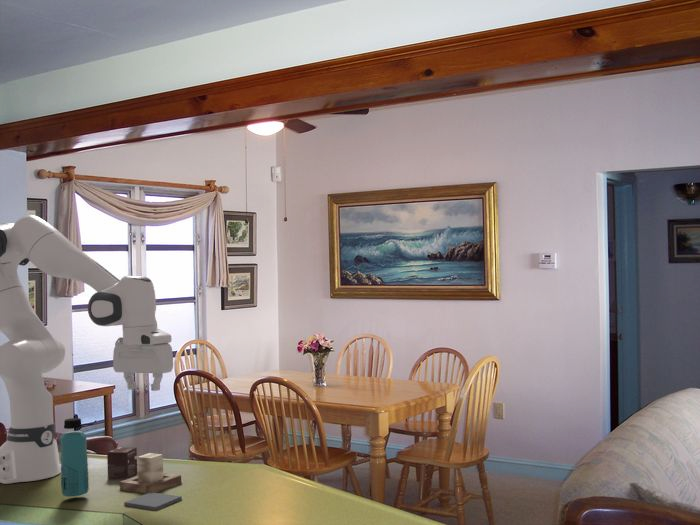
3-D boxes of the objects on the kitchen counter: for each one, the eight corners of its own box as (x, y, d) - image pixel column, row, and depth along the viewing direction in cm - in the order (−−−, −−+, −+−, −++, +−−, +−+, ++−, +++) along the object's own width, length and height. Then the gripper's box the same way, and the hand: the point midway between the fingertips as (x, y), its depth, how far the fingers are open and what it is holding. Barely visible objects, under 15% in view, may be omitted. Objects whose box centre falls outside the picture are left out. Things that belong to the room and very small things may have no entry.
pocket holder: (119, 489, 195) (119, 481, 195) (149, 478, 205) (149, 471, 205) (152, 494, 190) (151, 486, 190) (181, 482, 199) (181, 475, 199)
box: (127, 479, 205) (126, 452, 205) (107, 479, 206) (106, 452, 206) (138, 473, 211) (137, 447, 211) (118, 473, 212) (117, 447, 212)
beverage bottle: (95, 496, 189) (92, 416, 190) (75, 504, 183) (72, 421, 184) (75, 494, 192) (73, 415, 193) (55, 501, 186) (52, 420, 187)
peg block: (138, 487, 196) (137, 456, 196) (150, 483, 200) (149, 453, 200) (151, 489, 194) (150, 458, 194) (163, 484, 198) (162, 454, 198)
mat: (124, 505, 181) (124, 502, 181) (150, 495, 189) (150, 492, 189) (155, 510, 176) (155, 507, 176) (181, 499, 184) (181, 496, 184)
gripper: (105, 338, 201) (108, 390, 201) (156, 338, 189) (159, 393, 189) (125, 336, 206) (128, 386, 206) (175, 335, 194) (179, 389, 194)
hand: (143, 389), depth 197 cm, fingers open, 8 cm apart
